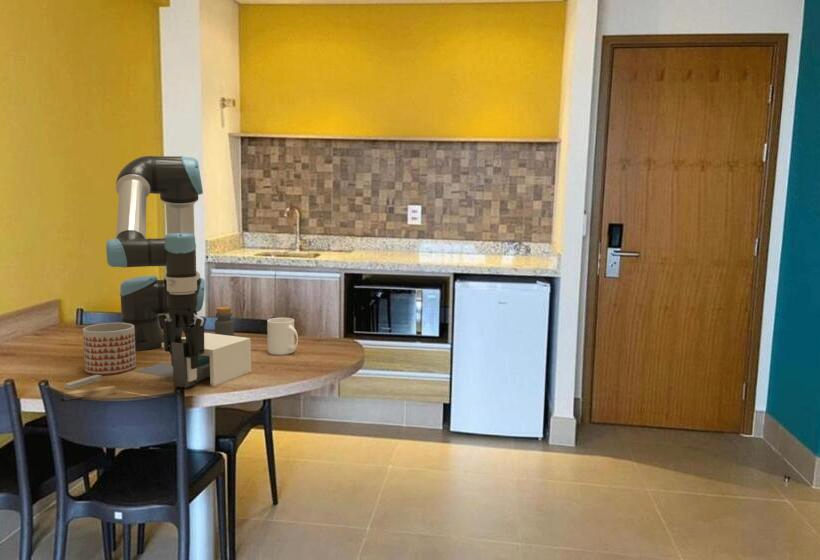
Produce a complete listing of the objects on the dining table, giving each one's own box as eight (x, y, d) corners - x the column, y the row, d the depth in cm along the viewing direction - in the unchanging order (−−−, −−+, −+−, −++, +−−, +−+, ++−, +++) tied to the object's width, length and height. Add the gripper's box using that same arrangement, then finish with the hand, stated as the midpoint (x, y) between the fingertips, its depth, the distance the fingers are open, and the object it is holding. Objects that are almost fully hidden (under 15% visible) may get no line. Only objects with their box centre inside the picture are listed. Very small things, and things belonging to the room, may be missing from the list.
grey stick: (65, 389, 175) (64, 383, 175) (96, 380, 184) (96, 374, 184) (70, 390, 174) (70, 384, 174) (101, 381, 183) (101, 375, 183)
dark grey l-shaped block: (174, 386, 175) (171, 341, 173) (219, 368, 191) (217, 327, 189) (185, 388, 173) (183, 343, 171) (230, 369, 189) (228, 328, 187)
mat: (133, 372, 190) (133, 371, 190) (162, 364, 200) (162, 362, 200) (193, 382, 181) (193, 381, 181) (220, 372, 191) (220, 371, 191)
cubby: (162, 378, 184) (161, 343, 183) (202, 365, 199) (201, 332, 197) (214, 387, 177) (212, 349, 176) (251, 372, 192) (250, 338, 190)
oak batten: (63, 402, 164) (62, 394, 164) (62, 400, 166) (62, 392, 166) (115, 395, 170) (115, 387, 170) (114, 393, 172) (114, 385, 172)
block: (184, 375, 186) (183, 358, 186) (196, 371, 191) (196, 354, 190) (198, 377, 184) (197, 360, 184) (210, 373, 189) (209, 356, 188)
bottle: (238, 352, 215) (236, 307, 213) (226, 356, 210) (224, 309, 208) (223, 350, 218) (222, 305, 216) (211, 354, 213) (210, 308, 211)
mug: (288, 358, 208) (287, 325, 207) (262, 352, 215) (261, 320, 214) (307, 353, 215) (307, 320, 214) (281, 347, 222) (281, 316, 221)
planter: (103, 378, 184) (101, 333, 183) (75, 371, 192) (72, 328, 190) (146, 367, 196) (144, 325, 194) (117, 361, 203) (115, 320, 201)
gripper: (146, 291, 172) (150, 378, 175) (197, 296, 165) (200, 387, 169) (167, 288, 179) (171, 371, 182) (217, 292, 172) (220, 379, 175)
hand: (185, 378), depth 175 cm, fingers closed on dark grey l-shaped block, 4 cm apart
